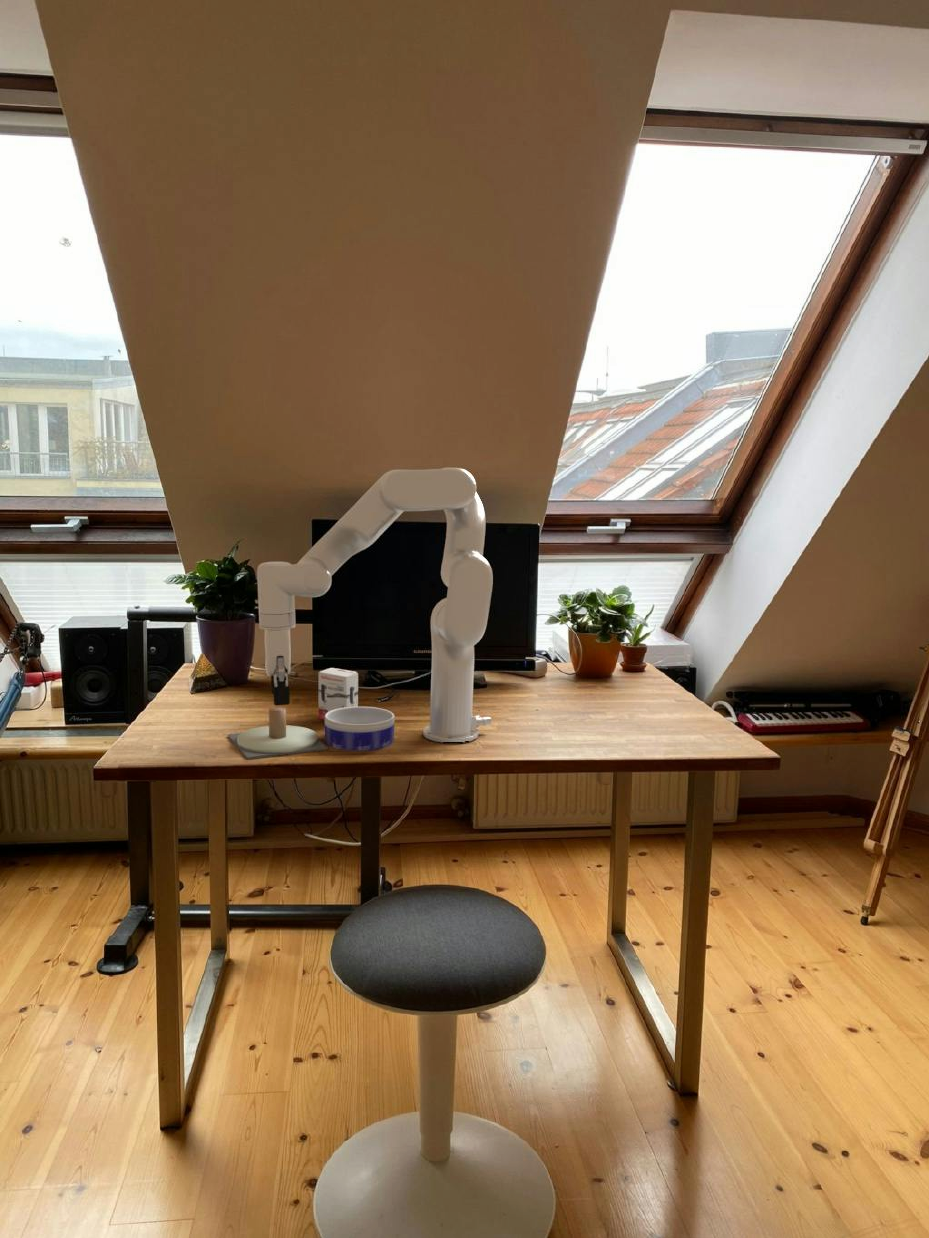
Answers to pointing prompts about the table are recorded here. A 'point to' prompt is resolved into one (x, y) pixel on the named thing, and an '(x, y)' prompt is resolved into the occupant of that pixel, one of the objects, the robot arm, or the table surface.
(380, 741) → the dog bowl
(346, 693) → the ink box
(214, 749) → the table surface
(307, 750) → the mat
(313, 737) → the lid
